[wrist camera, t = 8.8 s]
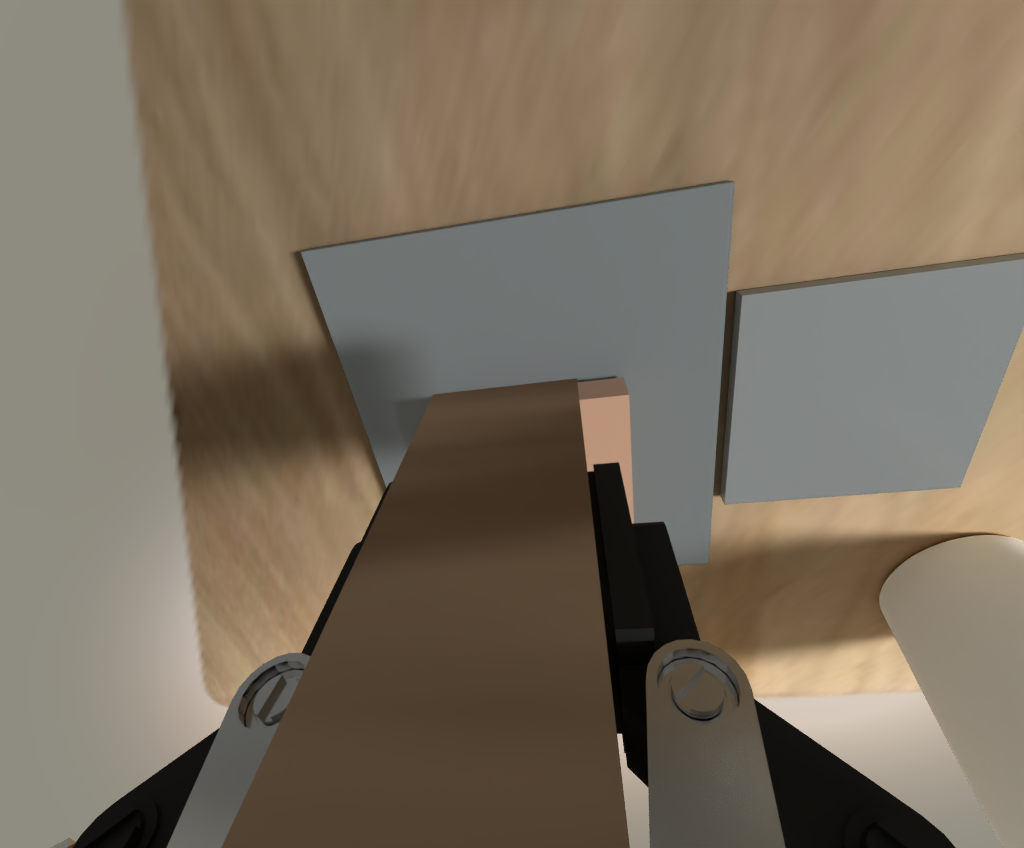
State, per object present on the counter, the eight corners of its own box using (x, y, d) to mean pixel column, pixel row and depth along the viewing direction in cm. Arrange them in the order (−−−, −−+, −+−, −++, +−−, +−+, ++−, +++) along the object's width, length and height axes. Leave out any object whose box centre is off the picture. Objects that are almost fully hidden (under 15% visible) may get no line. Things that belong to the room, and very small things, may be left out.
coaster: (736, 290, 16) (742, 295, 16) (1033, 251, 15) (1051, 255, 14) (720, 495, 21) (724, 504, 20) (948, 478, 19) (959, 487, 19)
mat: (308, 248, 17) (300, 252, 16) (727, 180, 15) (734, 181, 14) (422, 570, 24) (419, 579, 24) (704, 553, 22) (708, 563, 22)
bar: (433, 394, 12) (-88, 1512, 2) (576, 378, 11) (729, 1737, 2) (473, 543, 14) (314, 1365, 5) (592, 535, 14) (687, 1436, 4)
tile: (431, 415, 17) (474, 571, 21) (629, 394, 16) (635, 562, 20) (440, 395, 18) (479, 544, 22) (622, 374, 17) (630, 535, 21)
